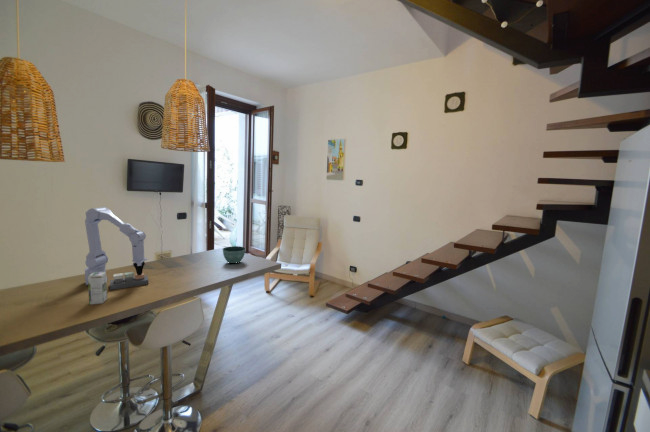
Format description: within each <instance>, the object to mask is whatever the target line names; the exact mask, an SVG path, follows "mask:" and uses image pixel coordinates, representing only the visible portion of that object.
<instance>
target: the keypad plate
mask: <svg viewBox="0 0 650 432" xmlns="http://www.w3.org/2000/svg"><path fill="white" fill-rule="evenodd" d="M144 285H145V286H146V285H149V277H148V275H147V274H144V279H142V280H136V279H135V276H134V277H133V281H128V282H126V278H125V277H123V282H122V283H115V280H114V279H111V280H109V290H110V291H115V290H120V289H126V288H131V287H137V286H138V287H139V286H144Z"/></svg>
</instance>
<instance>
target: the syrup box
mask: <svg viewBox="0 0 650 432" xmlns="http://www.w3.org/2000/svg"><path fill="white" fill-rule="evenodd" d="M106 278H107V271H106V272H95V273H92V274H91V275H89V276H88V285H87V287H88V288H87V289H88V304H89V305H99V304H104V303H105V302H106V300H108V284H107V282H108V280H107V281H106Z"/></svg>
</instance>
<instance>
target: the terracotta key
mask: <svg viewBox="0 0 650 432" xmlns="http://www.w3.org/2000/svg"><path fill="white" fill-rule="evenodd" d="M144 275H145V273H144V272H142V275H137V273H134V277H135V279H136V280H142V279H144Z"/></svg>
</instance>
